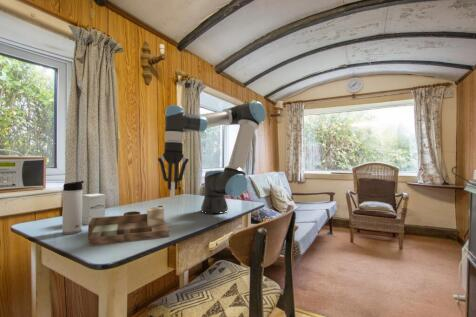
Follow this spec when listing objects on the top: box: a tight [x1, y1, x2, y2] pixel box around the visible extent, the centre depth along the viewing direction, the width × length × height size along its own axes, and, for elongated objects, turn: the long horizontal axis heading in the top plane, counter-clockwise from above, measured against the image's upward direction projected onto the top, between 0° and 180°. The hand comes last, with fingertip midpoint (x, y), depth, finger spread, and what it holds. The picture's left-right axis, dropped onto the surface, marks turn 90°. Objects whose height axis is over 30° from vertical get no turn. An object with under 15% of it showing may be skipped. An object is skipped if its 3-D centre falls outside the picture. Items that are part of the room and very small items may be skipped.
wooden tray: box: [87, 213, 170, 247], centre depth 92 cm, size 27×17×6 cm, turn 115°
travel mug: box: [61, 180, 85, 236], centre depth 93 cm, size 6×7×20 cm
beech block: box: [146, 206, 165, 226], centre depth 98 cm, size 6×6×6 cm
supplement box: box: [82, 193, 106, 226], centre depth 107 cm, size 7×7×13 cm
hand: (172, 197), depth 101 cm, fingers closed
